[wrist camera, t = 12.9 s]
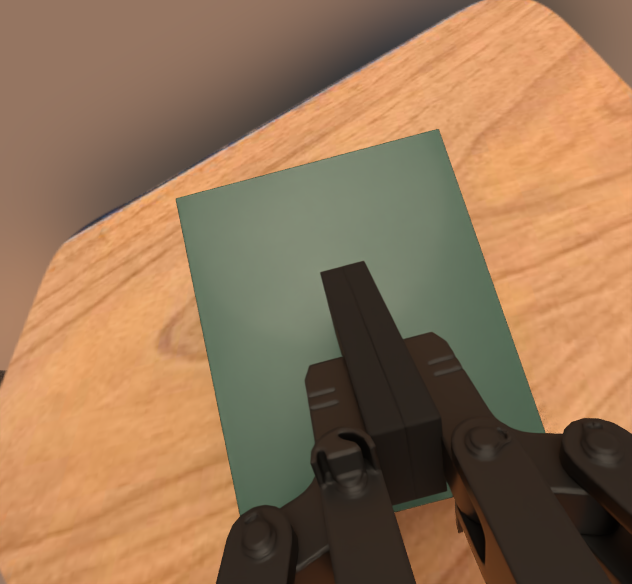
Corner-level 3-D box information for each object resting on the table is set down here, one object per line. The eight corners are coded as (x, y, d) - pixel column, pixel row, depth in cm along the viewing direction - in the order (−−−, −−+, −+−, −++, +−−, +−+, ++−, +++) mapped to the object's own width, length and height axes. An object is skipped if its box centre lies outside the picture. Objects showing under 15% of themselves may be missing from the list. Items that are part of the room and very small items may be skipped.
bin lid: (181, 204, 22) (175, 198, 21) (435, 137, 22) (438, 128, 21) (250, 543, 19) (246, 551, 18) (549, 465, 19) (559, 469, 18)
